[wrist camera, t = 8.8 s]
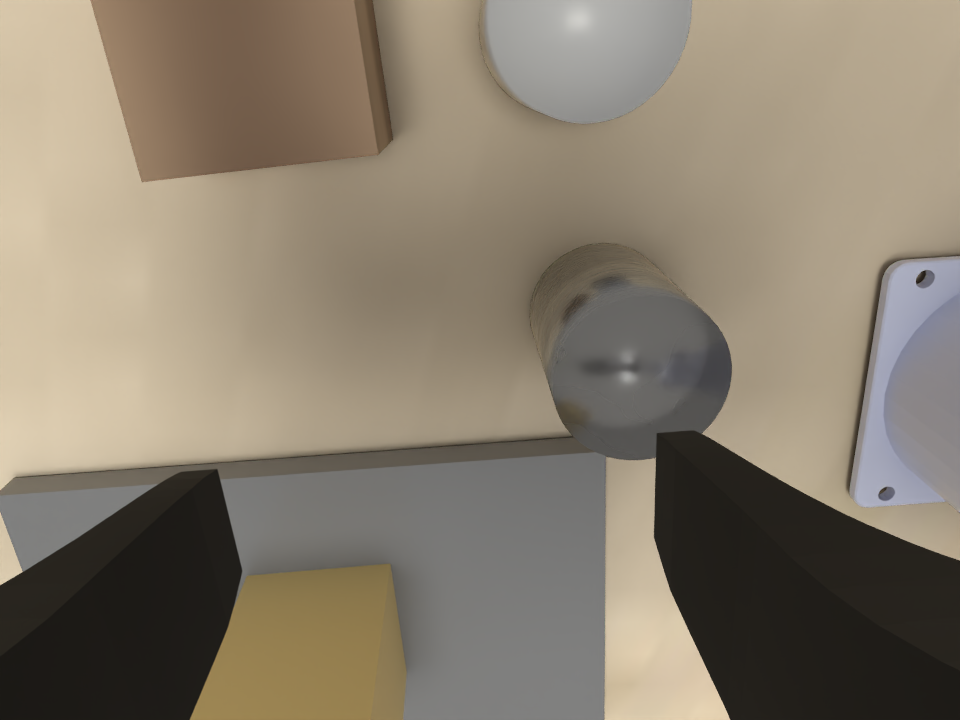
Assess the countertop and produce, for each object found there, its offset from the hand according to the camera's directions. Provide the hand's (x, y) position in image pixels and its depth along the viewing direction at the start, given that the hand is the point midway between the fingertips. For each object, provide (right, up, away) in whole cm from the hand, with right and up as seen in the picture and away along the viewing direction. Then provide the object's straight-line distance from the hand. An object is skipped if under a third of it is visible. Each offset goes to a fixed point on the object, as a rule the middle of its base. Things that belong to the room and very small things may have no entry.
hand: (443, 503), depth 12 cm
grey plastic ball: (+3, +11, +6) cm, 12 cm away
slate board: (-4, -6, +12) cm, 14 cm away
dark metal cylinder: (+4, +4, +9) cm, 10 cm away
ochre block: (-4, -6, +11) cm, 14 cm away
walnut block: (-4, +10, +6) cm, 13 cm away
